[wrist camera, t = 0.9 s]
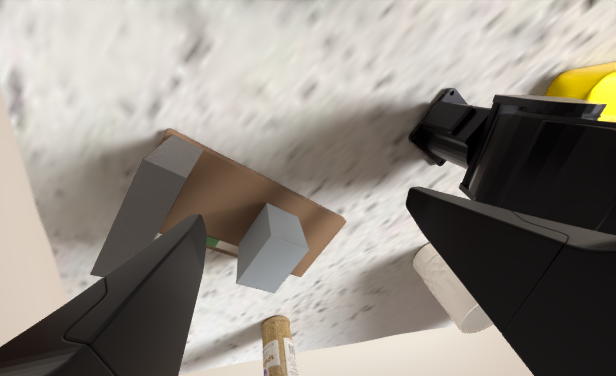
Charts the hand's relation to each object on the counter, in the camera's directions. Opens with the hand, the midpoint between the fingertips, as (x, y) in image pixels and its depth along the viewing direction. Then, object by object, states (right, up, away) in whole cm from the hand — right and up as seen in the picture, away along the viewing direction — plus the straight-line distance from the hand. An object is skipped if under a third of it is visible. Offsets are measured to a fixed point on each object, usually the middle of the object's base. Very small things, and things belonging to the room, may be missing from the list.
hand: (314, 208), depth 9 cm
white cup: (+20, -10, +27) cm, 35 cm away
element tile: (+36, +10, +21) cm, 43 cm away
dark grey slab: (-13, +1, +11) cm, 18 cm away
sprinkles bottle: (-5, -20, +25) cm, 33 cm away
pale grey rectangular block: (-5, -5, +15) cm, 17 cm away
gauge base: (-7, -2, +15) cm, 17 cm away
